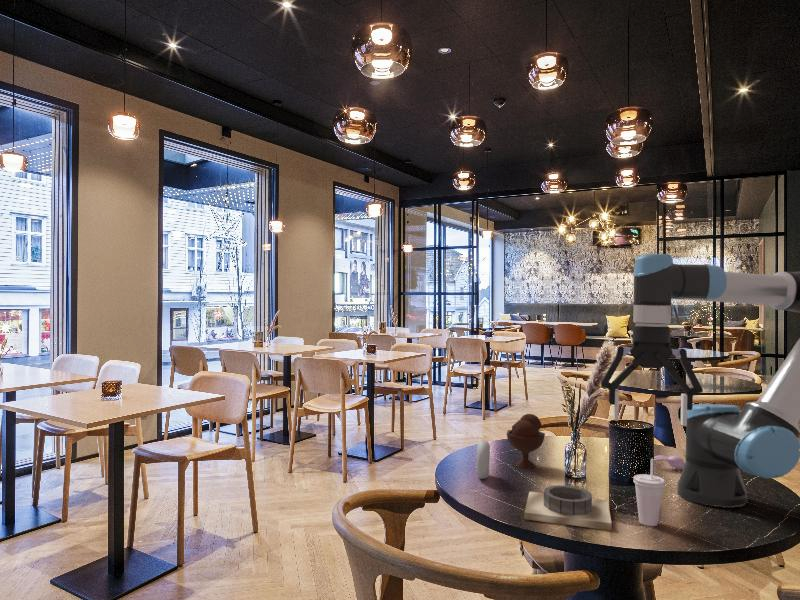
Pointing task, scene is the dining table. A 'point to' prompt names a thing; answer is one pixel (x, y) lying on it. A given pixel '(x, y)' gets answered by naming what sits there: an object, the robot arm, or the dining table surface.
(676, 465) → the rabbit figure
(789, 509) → the dining table surface
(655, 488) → the smoothie
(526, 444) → the ice cream bowl
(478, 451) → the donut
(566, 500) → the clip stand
